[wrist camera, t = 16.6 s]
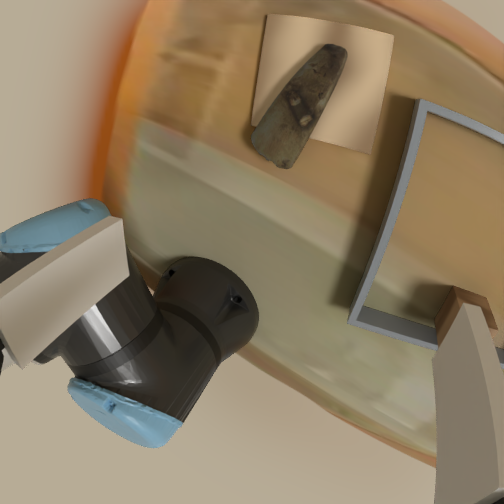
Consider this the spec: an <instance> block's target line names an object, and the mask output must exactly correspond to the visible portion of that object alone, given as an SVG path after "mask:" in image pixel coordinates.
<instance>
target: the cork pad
mask: <svg viewBox="0 0 504 504" xmlns="http://www.w3.org/2000/svg"><path fill="white" fill-rule="evenodd" d="M393 42H394V35H391V34H387V33H383V32H379V31H375V30H371V29H367V28H363V27H358V26H353V25H349V24H343V23H338V22H332V21H326V20H320V19H313V18H306V17H297V16H288V15H277V14H268V16H267V22H266V28H265V34H264V41H263V47H262V53H261V60H260V66H259V73H258V79H257V86H256V92H255V99H254V106H253V113H252V120H251V126H256V127H257V125H258V124H259V122H260V121H261V119H262V117H263V116H264V114H265V113H266V111H267V110H268V108H269V107H270V106H271V104H272V103H273V102H274V100H275V99H276V97H277V96H278V95H279V93H280V92H281V91H282V89H283V88H284V87H285V85H286V84H287V83H288V82H289V81H290V79H291V78H292V77H293V76H294V75H295V74H296V73H297V71H298V70H299V69H300V68H301V67H302V66H303V65H304V64H305V63H306V62H307V61H308V60H309V59H310V58H311V57H312V56H313V55H314V54H315V53H317V52H318V51H319V50H320V49H321V48H322V47H323V46H324V45H325V44H334V45H338V46H341V47H343V48H345V49H346V50H347V53H348V57H347V60H346V63H345V66H344V69H343V71H342V74H341V76H340V78H339V80H338V83H337V85H336V87H335V89H334V91H333V93H332V95H331V97H330V99H329V101H328V103H327V105H326V107H325V109H324V111H323V113H322V115H321V117H320V119H319V121H318V123H317V124H316V126H315V128H314V130H313V132H312V133H311V135H310V137H309V138H311V139H315V140H319V141H323V142H327V143H331V144H335V145H338V146H342V147H346V148H349V149H353V150H356V151H360V152H363V153H366V154H370V155H371V151H372V147H373V143H374V138H375V134H376V130H377V125H378V121H379V116H380V112H381V107H382V102H383V97H384V92H385V87H386V82H387V77H388V71H389V66H390V60H391V54H392V48H393Z"/></svg>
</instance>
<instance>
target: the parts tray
mask: <svg viewBox="0 0 504 504" xmlns="http://www.w3.org/2000/svg"><path fill="white" fill-rule="evenodd" d="M427 112H429V113H432V114H435V115H437V116H440V117H442V118H445V119H447V120H450V121H452V122H455V123H457V124H459V125H462V126H464V127H466V128H469V129H471V130H473V131H475V132H477V133H480V134H482V135H484V136H486V137H488V138H490V139H492V140H494V141H496V142H498V143H500V144H502V145H504V135H503V134H502V133H500V132H498V131H496V130H494V129H492V128H490V127H488V126H485V125H483V124H481V123H479V122H477V121H475V120H473V119H470V118H468V117H466V116H464V115H461V114H459V113H456V112H454V111H452V110H449V109H447V108H444V107H442V106H439V105H436V104H434V103H431V102H428V101H426V100H423V99H416V100H415V105H414V110H413V114H412V118H411V123H410V127H409V131H408V135H407V139H406V143H405V147H404V151H403V155H402V158H401V162H400V166H399V169H398V173H397V176H396V180H395V183H394V187H393V190H392V193H391V196H390V200H389V203H388V206H387V209H386V212H385V215H384V218H383V221H382V224H381V227H380V230H379V233H378V236H377V239H376V242H375V244H374V247H373V250H372V253H371V255H370V258H369V261H368V264H367V266H366V269H365V271H364V274H363V277H362V279H361V282H360V284H359V287H358V289H357V292H356V294H355V297H354V299H353V301H352V304H351V306H350V310H349V315H348V320H347V324H350V325H353V326H357V327H360V328H363V329H366V330H369V331H372V332H376V333H379V334H382V335H385V336H389V337H392V338H395V339H398V340H402V341H405V342H408V343H412V344H415V345H418V346H422V347H425V348H429V349H432V350H436V351H437V350H438V343H437V335H436V329H435V328H432V327H428V326H425V325H422V324H419V323H416V322H412V321H409V320H406V319H403V318H400V317H397V316H393V315H390V314H387V313H384V312H381V311H378V310H375V309H371V308H368V307H365V306H363V303H364V301H365V299H366V297H367V294H368V292H369V290H370V287H371V285H372V282H373V280H374V278H375V275H376V273H377V270H378V268H379V265H380V263H381V260H382V258H383V255H384V252H385V250H386V247H387V244H388V242H389V239H390V236H391V234H392V231H393V228H394V225H395V222H396V219H397V216H398V214H399V211H400V208H401V205H402V201H403V198H404V195H405V192H406V189H407V186H408V182H409V179H410V176H411V172H412V169H413V165H414V162H415V158H416V155H417V151H418V147H419V143H420V139H421V136H422V131H423V127H424V123H425V119H426V115H427ZM495 349H496V352H497V355H498V358H499V362H500V365H501V368H502V369H504V349H501V348H497V347H495Z"/></svg>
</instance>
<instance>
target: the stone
mask: <svg viewBox="0 0 504 504" xmlns="http://www.w3.org/2000/svg"><path fill="white" fill-rule="evenodd" d="M347 57H348V53H347V50H346V49H345V48H343V47H341V46H338V45H334V44H325V45H324V46H323V47H322V48H321V49H320V50H319V51H318V52H317V53H315V54H314V55H313V56H312V57H311V58H310V59H309V60H308V61H307V62H306V63H305V64H304V65H303V66H302V67H301V68H300V69H299V70H298V71H297V73H296V74H295V75H294V76H293V77H292V78H291V79H290V81H289V82H288V83H287V84H286V85H285V87H284V88H283V89H282V91H281V92H280V93H279V95H278V96H277V97H276V99H275V100H274V102H273V103H272V104H271V106H270V107H269V108H268V110H267V111H266V113H265V114H264V116H263V117H262V119H261V121H260V122H259V124H258V125H257V127H256V128H255V130H254V131H253V133H252V135H251V140H252V144H253V146H254V147H255V149H256V150H257V152H258V153H259V154H260V155H263V156H264V157H265V158H266V160H268V161H272V162H273V163H274V164H275V165H276V166H277V167H279V168H284V169H290V168H291V167H292V166H293V164H294V163H295V161H296V160H297V158H298V156H299V154H300V153H301V151H302V149H303V148H304V146H305V144H306V142H307V141H308V139H309V137H310V135H311V133H312V132H313V130H314V128H315V126H316V124H317V123H318V121H319V119H320V117H321V115H322V113H323V111H324V109H325V107H326V105H327V103H328V101H329V99H330V97H331V95H332V93H333V91H334V89H335V87H336V85H337V83H338V80H339V78H340V76H341V74H342V71H343V69H344V66H345V63H346V60H347Z"/></svg>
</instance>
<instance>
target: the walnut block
mask: <svg viewBox="0 0 504 504" xmlns="http://www.w3.org/2000/svg"><path fill="white" fill-rule="evenodd" d="M463 303H467V304H471V305H475V306H479V307H481V310H482V312H483V315H484V317H485V320H486V323H487V325H488V328H489V331H490V334H491V337H492V339H493V338H494V336H495V335H496V334H497V332H498V328H497V325H496V322H495V319H494V317H493V314H492V311H491V309H490V306H489V303H488V301H487V298H486V297H483V296H480V295H478V294H475V293H472V292H470V291H467V290H464V289H461V288H459V287H456V286H453V287H452V289H451V291H450V293H449V295H448V296H447V298H446V300H445V302H444V304H443V305H442V307H441V309H440V311H439V312H438V314H437V316H436V317H435V319H434V320H435V327H436V335H437V343H438V349H439V347H440V345H441V343H442V342H443V340H444V338H445V336H446V335H447V333H448V331H449V329H450V327H451V325H452V324H453V322H454V320H455V318H456V316H457V314H458V312H459V310H460V308H461V306H462V304H463Z"/></svg>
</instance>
